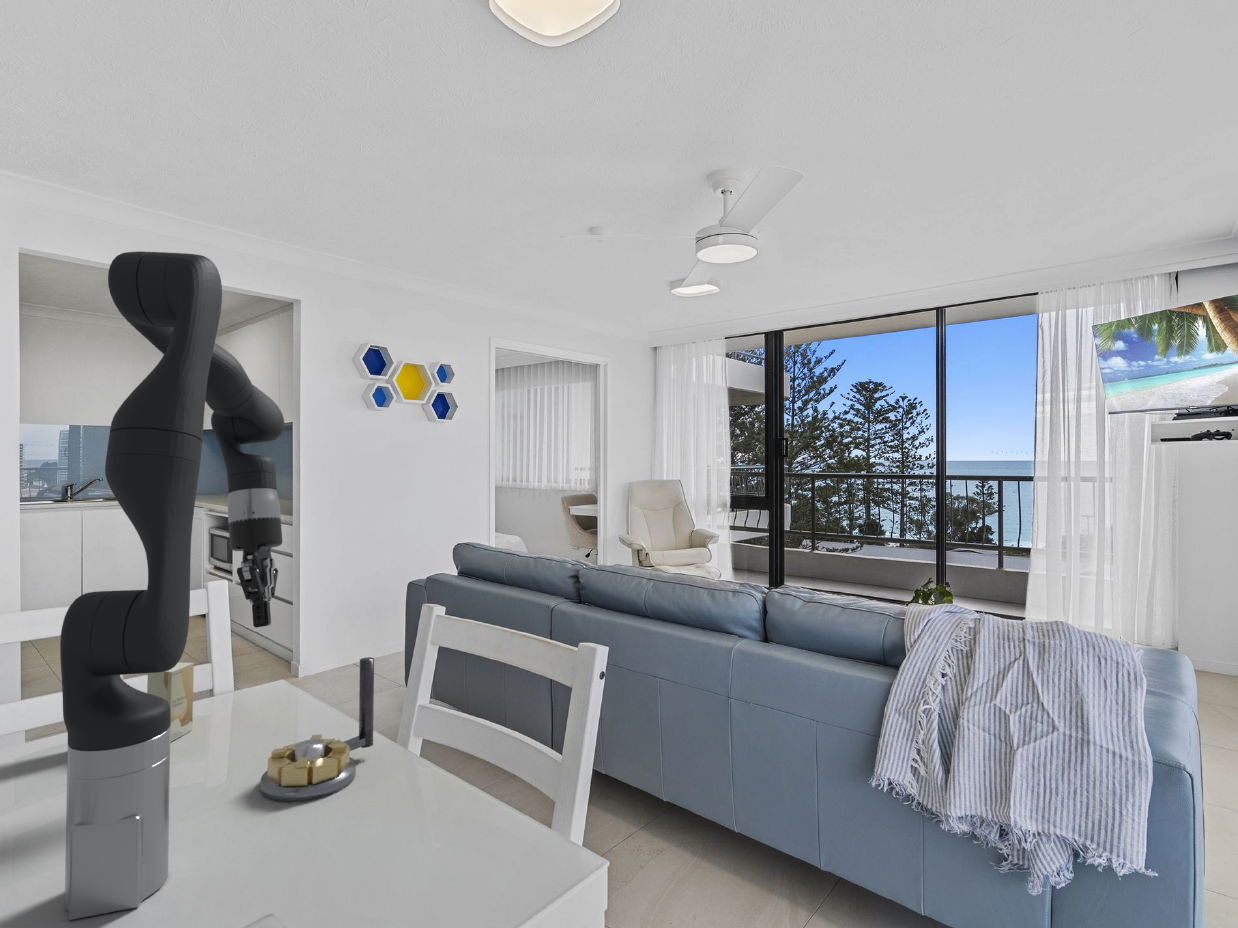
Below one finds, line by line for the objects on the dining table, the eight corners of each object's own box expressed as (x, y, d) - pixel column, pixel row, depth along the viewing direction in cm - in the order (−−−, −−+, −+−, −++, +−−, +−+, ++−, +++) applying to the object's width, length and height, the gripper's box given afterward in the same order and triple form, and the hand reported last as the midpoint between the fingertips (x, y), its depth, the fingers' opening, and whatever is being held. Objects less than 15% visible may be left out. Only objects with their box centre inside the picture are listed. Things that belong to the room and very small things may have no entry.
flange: (355, 793, 96) (355, 755, 96) (254, 809, 92) (254, 769, 92) (355, 757, 109) (356, 723, 109) (266, 769, 104) (267, 734, 104)
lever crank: (287, 792, 93) (288, 691, 93) (258, 769, 100) (259, 675, 100) (394, 756, 105) (395, 666, 105) (361, 738, 112) (362, 653, 112)
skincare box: (169, 743, 113) (170, 672, 113) (144, 743, 113) (145, 671, 114) (194, 729, 120) (195, 661, 120) (170, 728, 120) (171, 661, 120)
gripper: (267, 511, 103) (275, 624, 100) (290, 520, 116) (298, 620, 113) (214, 518, 101) (221, 633, 99) (243, 526, 114) (250, 628, 111)
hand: (262, 626), depth 106 cm, fingers closed
